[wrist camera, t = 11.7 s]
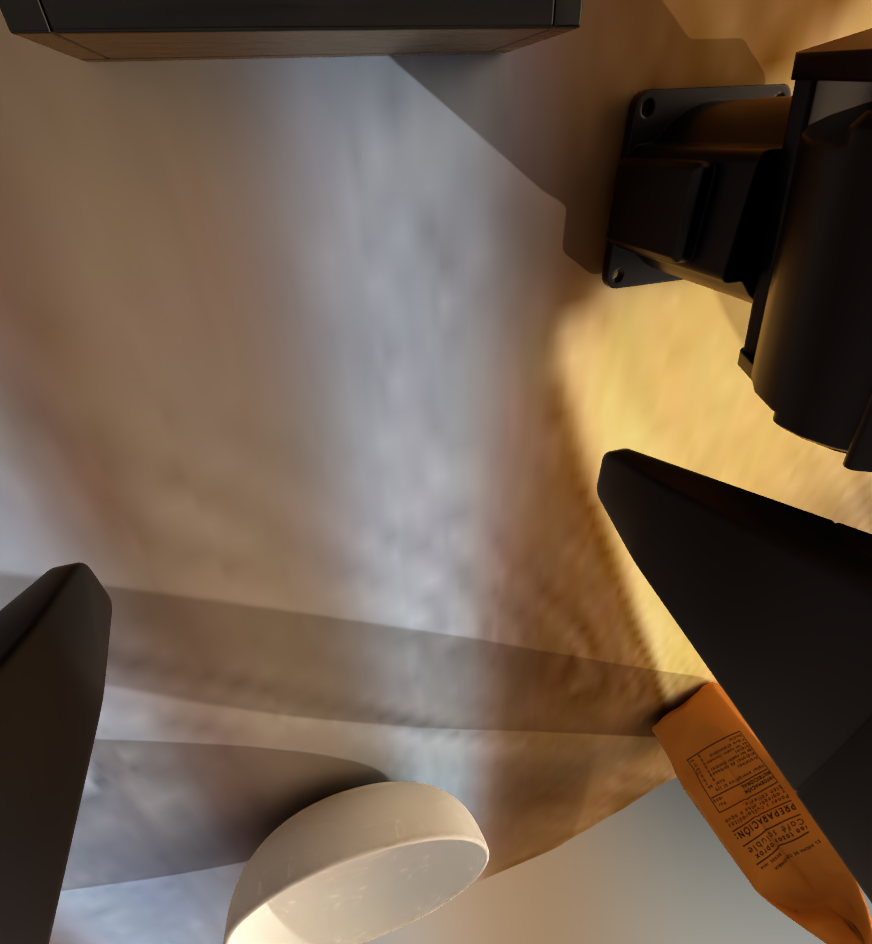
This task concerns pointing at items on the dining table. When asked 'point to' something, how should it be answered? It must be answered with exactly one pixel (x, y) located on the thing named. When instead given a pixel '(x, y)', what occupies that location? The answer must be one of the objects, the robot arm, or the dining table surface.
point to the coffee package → (761, 818)
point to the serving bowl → (357, 867)
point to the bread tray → (285, 27)
